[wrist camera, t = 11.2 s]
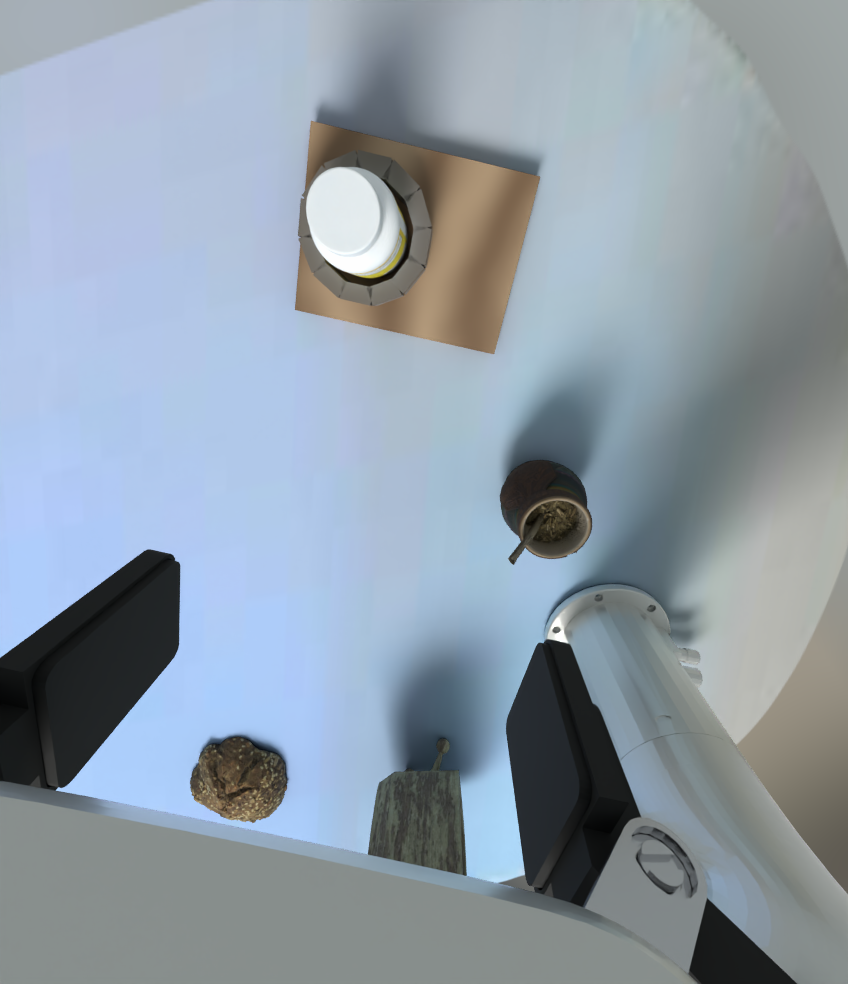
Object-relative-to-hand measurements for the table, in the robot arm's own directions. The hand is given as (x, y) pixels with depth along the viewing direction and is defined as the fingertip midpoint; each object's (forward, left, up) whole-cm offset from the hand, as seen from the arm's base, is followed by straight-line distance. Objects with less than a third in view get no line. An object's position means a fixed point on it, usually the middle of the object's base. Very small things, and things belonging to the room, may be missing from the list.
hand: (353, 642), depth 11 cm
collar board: (+3, -12, -29) cm, 31 cm away
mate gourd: (-12, +5, -29) cm, 32 cm away
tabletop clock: (-10, +45, -29) cm, 55 cm away
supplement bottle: (+6, -12, -28) cm, 31 cm away
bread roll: (+13, +52, -29) cm, 61 cm away
